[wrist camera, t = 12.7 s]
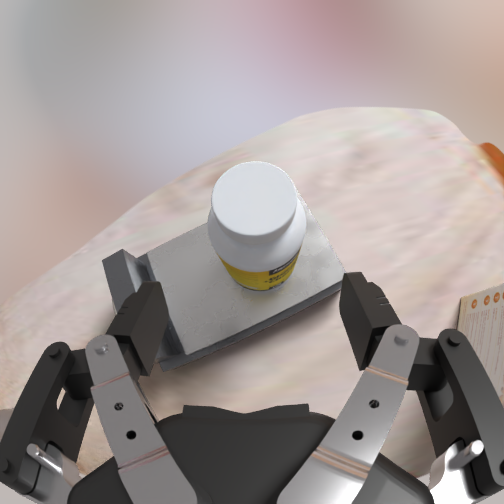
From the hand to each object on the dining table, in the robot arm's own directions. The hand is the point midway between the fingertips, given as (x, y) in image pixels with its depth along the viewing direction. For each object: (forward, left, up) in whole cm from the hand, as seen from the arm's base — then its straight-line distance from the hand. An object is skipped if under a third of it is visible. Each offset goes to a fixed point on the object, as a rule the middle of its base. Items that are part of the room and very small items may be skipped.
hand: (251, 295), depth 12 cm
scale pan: (-2, +5, -14) cm, 15 cm away
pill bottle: (0, +5, -13) cm, 14 cm away
